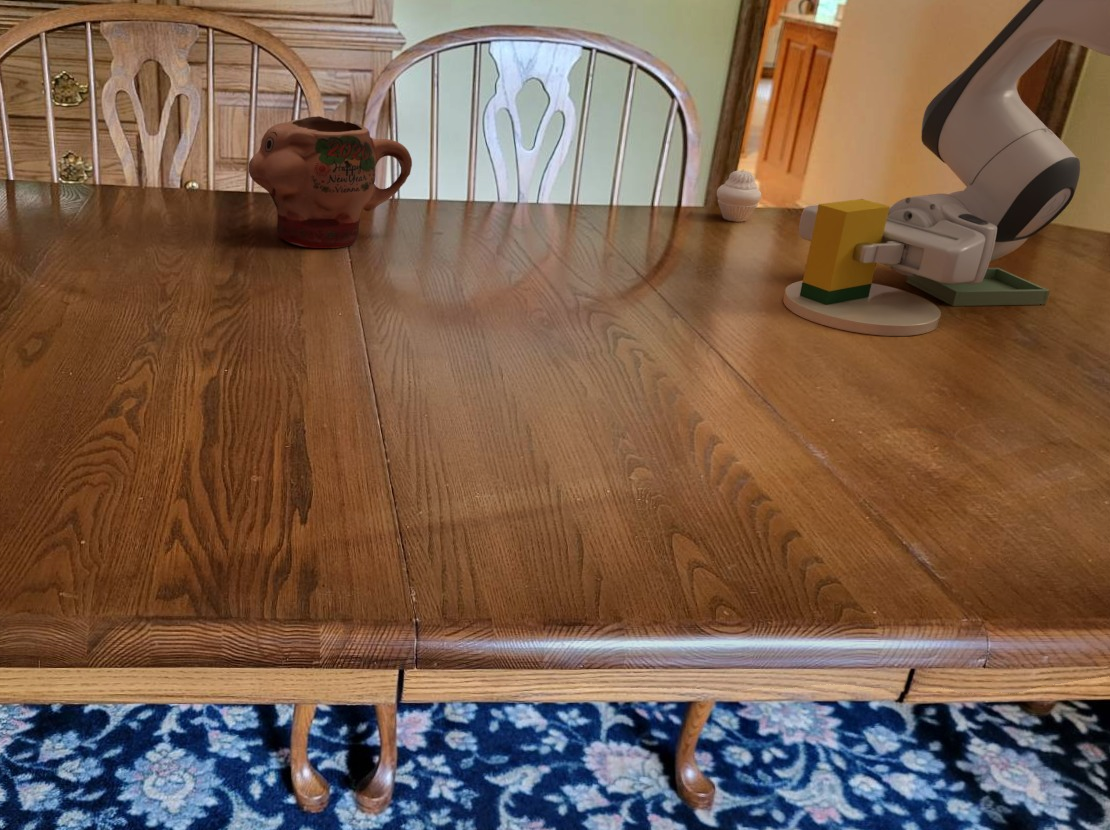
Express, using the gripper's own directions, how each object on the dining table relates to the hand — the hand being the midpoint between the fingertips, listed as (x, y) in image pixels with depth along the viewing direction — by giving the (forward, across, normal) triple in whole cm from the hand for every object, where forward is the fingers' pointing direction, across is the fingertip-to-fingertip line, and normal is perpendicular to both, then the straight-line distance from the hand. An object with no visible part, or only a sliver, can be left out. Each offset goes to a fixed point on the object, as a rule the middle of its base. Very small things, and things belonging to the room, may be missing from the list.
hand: (839, 247), depth 117 cm
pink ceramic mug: (+38, -45, +7) cm, 59 cm away
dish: (-22, +3, +7) cm, 23 cm away
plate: (-3, +2, +7) cm, 8 cm away
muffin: (-21, -34, +7) cm, 40 cm away
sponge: (-1, 0, +6) cm, 6 cm away
